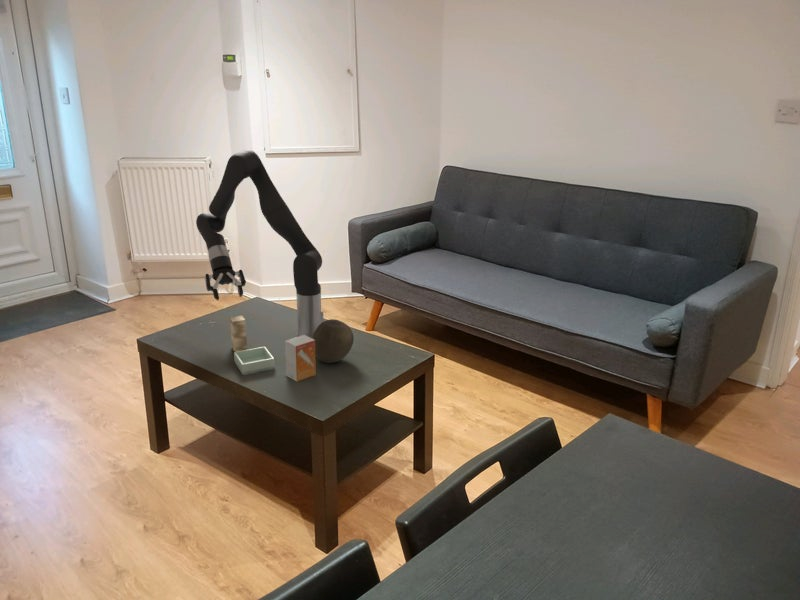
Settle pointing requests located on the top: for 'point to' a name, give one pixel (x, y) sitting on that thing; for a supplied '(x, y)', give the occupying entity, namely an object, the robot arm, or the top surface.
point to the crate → (254, 360)
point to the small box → (300, 357)
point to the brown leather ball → (332, 340)
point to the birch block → (238, 333)
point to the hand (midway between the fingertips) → (229, 297)
